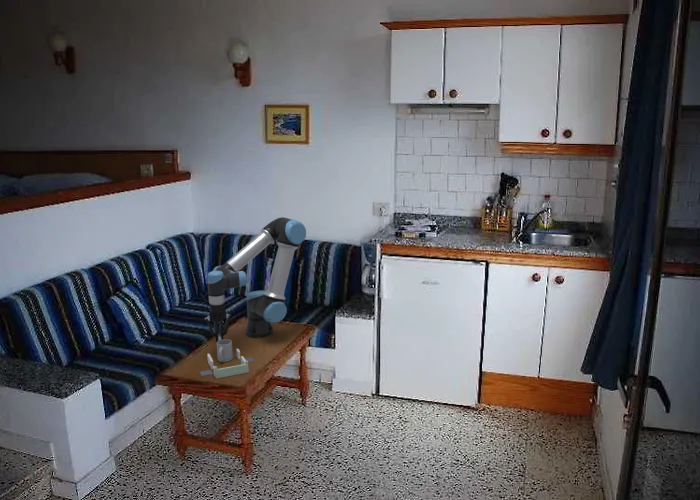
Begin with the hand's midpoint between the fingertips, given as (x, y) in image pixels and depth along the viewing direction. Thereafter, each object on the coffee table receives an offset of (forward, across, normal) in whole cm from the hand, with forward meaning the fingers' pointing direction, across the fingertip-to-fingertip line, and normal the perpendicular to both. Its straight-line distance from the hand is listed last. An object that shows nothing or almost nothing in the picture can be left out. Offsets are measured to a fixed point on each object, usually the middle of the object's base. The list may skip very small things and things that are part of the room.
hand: (220, 348), depth 291 cm
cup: (+3, 0, +9) cm, 9 cm away
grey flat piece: (+3, 0, +17) cm, 17 cm away
